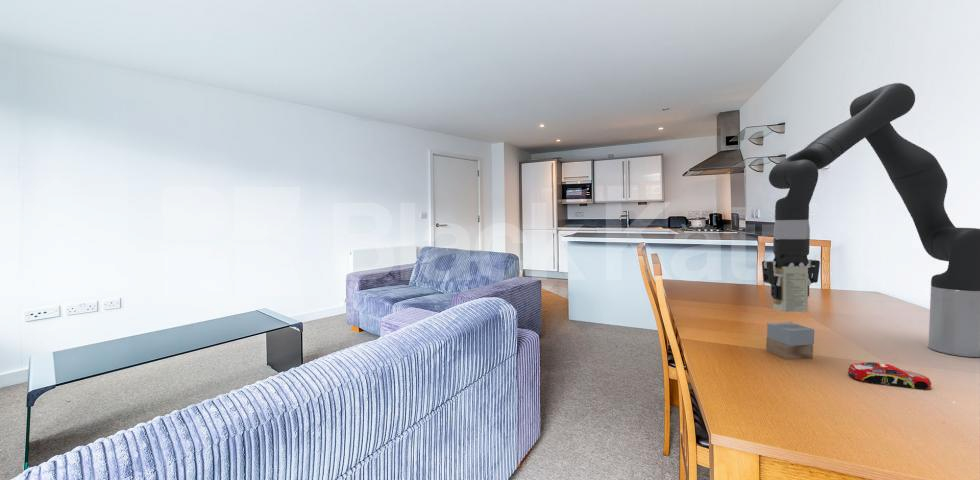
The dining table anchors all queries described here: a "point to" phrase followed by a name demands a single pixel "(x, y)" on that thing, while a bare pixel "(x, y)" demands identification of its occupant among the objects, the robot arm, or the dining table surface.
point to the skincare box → (793, 289)
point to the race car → (888, 375)
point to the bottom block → (789, 350)
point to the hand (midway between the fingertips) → (789, 298)
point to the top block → (790, 333)
